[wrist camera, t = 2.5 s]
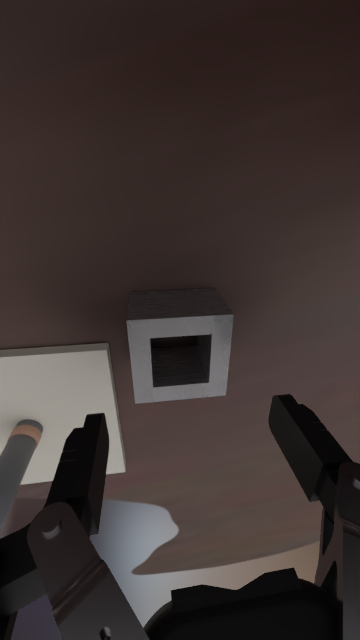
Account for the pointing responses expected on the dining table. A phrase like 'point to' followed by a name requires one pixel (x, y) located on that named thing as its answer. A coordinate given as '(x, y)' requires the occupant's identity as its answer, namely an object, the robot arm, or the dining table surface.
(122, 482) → the dining table surface
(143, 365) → the collar
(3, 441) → the post
